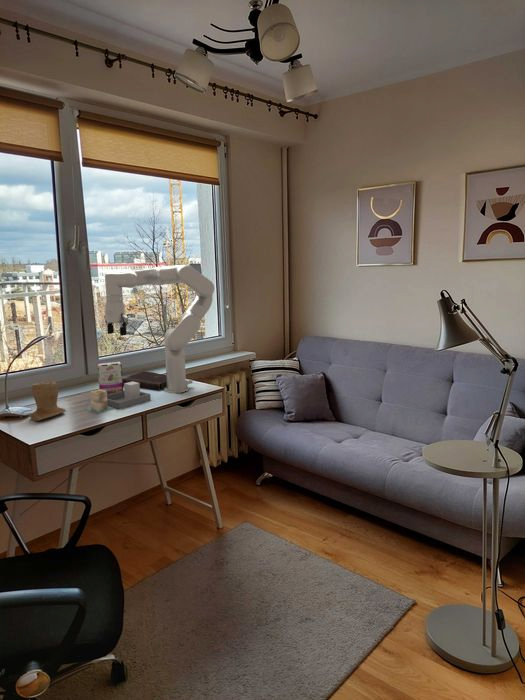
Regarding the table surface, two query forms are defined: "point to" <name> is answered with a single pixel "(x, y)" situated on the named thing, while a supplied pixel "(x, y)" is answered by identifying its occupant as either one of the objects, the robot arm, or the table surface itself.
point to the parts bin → (119, 400)
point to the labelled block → (98, 400)
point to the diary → (148, 380)
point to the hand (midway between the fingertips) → (117, 334)
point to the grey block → (131, 390)
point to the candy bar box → (110, 377)
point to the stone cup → (45, 401)
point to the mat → (99, 411)
